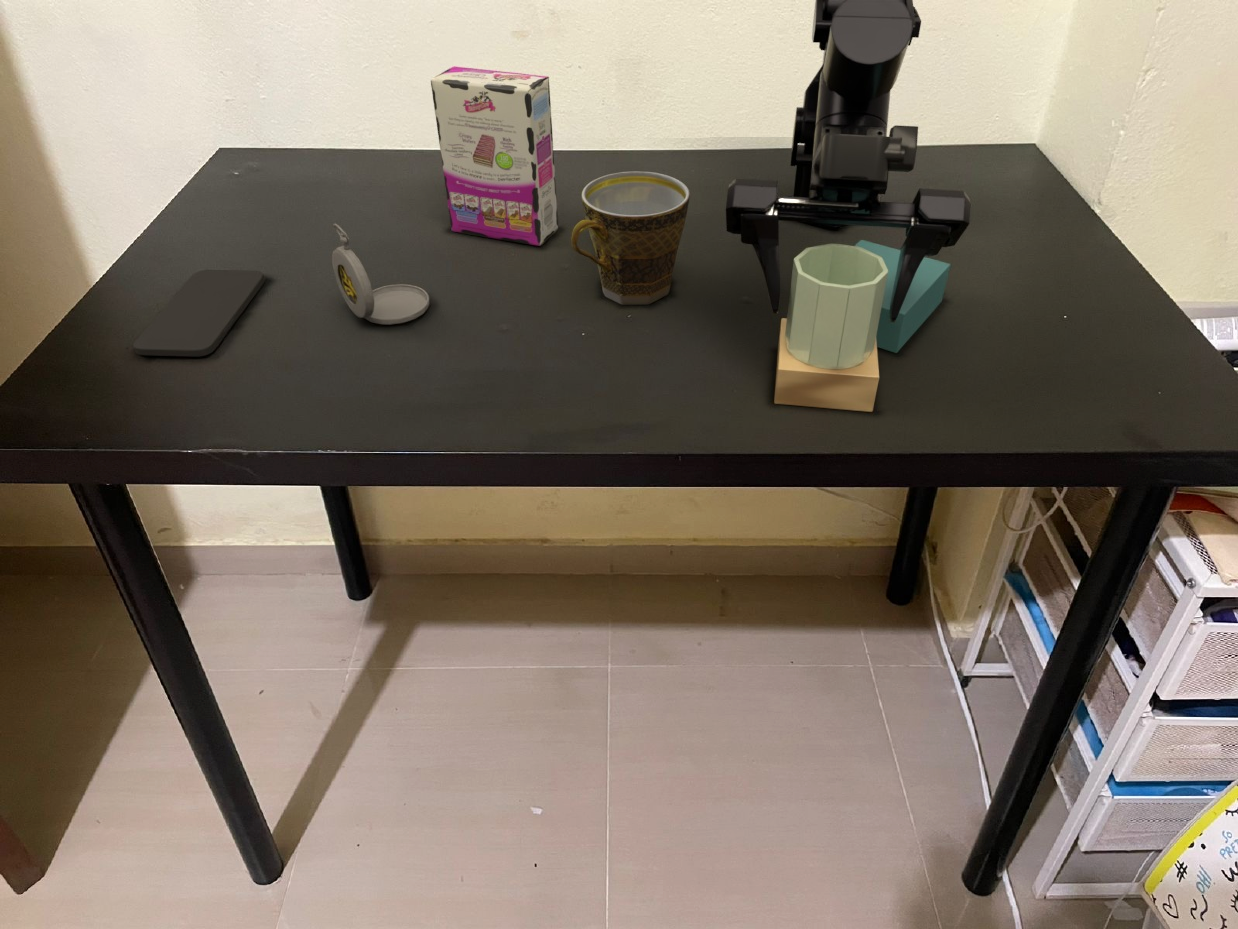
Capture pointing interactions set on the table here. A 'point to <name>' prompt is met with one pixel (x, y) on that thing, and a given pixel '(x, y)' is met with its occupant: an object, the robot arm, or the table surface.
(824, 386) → the tan block
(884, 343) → the box
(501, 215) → the candy bar box
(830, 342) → the pale green faceted cup
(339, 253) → the pocket watch
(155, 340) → the phone
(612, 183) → the ceramic cup
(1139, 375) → the table surface
